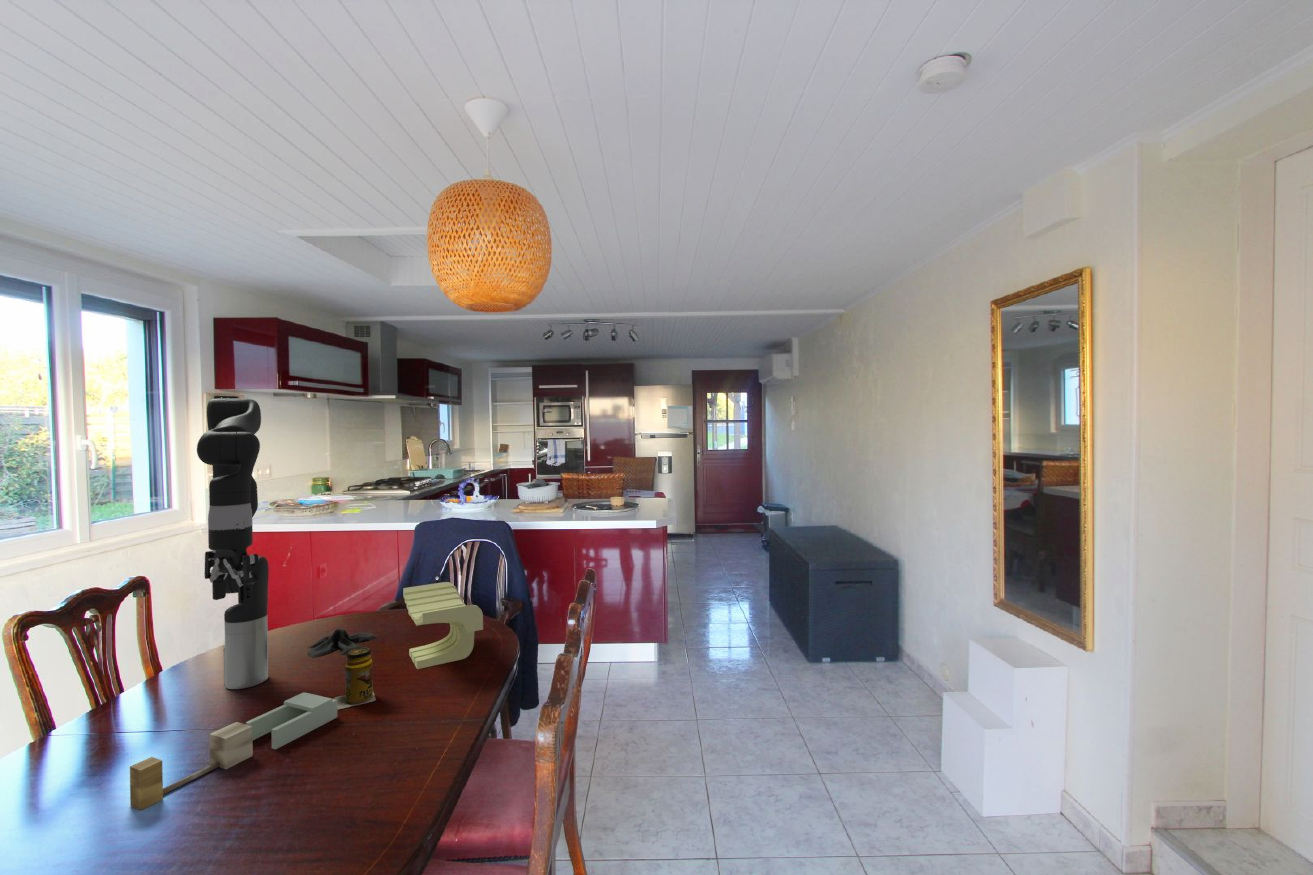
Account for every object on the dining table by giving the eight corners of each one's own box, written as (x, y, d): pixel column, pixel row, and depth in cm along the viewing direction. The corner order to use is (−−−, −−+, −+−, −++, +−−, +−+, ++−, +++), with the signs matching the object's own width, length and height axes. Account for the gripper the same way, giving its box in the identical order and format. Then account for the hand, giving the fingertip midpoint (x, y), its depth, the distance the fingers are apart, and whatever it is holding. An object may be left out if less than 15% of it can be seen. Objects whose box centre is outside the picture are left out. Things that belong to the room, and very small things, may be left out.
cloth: (380, 633, 186) (380, 614, 186) (370, 653, 169) (370, 633, 169) (303, 641, 179) (303, 622, 179) (285, 664, 162) (285, 642, 162)
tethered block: (127, 804, 99) (126, 765, 99) (236, 750, 116) (236, 717, 116) (144, 811, 97) (143, 771, 97) (252, 755, 114) (252, 721, 114)
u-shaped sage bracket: (246, 740, 120) (245, 718, 119) (309, 710, 133) (308, 689, 133) (275, 749, 116) (275, 726, 116) (337, 717, 129) (337, 696, 129)
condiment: (376, 700, 137) (375, 652, 137) (336, 710, 132) (335, 660, 132) (372, 689, 143) (371, 643, 143) (334, 698, 138) (333, 650, 138)
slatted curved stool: (483, 665, 157) (482, 602, 157) (423, 680, 148) (422, 613, 148) (456, 634, 182) (456, 580, 182) (404, 645, 174) (403, 588, 173)
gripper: (190, 526, 118) (191, 602, 118) (233, 530, 113) (234, 609, 113) (228, 521, 125) (229, 593, 125) (270, 524, 120) (272, 599, 120)
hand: (231, 601), depth 119 cm, fingers open, 8 cm apart
